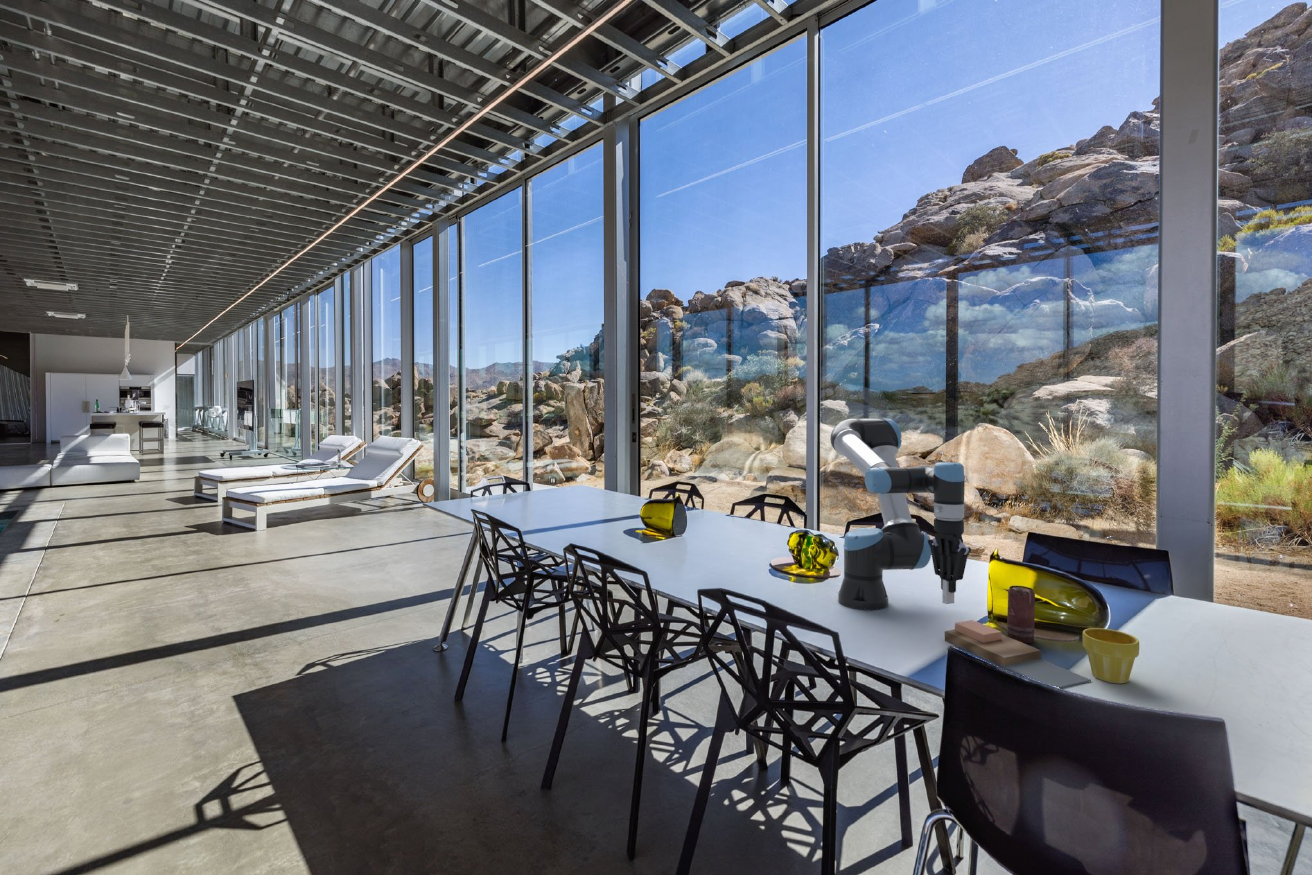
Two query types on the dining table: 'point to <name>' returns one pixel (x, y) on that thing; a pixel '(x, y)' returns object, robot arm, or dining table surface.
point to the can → (1021, 614)
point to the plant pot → (1110, 653)
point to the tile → (978, 631)
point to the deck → (995, 648)
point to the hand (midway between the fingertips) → (948, 602)
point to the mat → (1047, 673)
